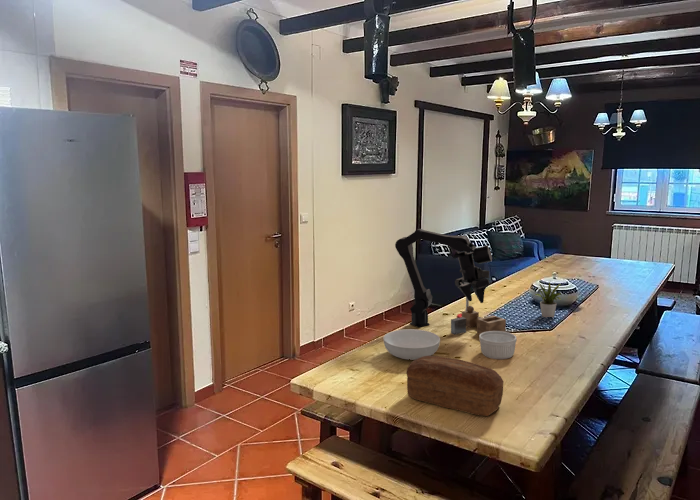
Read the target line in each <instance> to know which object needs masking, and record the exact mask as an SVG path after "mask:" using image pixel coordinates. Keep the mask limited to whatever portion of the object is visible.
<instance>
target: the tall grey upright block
mask: <svg viewBox="0 0 700 500" xmlns="http://www.w3.org/2000/svg"><path fill="white" fill-rule="evenodd" d="M450 333H451V335H453V336H456V335H460V334H464V333H467V327H466V318H464V317H460V318H458V317H456V318H452V319H450Z"/></svg>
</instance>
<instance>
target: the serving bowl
mask: <svg viewBox="0 0 700 500" xmlns="http://www.w3.org/2000/svg"><path fill="white" fill-rule="evenodd" d="M382 340H383V344H384V347H385V349H386V350H387V352H388V353H389V354H390V355H392V356H394V357H396V358H398V359H403V360H409V359H410V360H413V361H414V360H416V359H418V358H420V357H423V356H434V354H435V353H436V352H437V351H438V350H439V347H440V343H441V337H440V336H439V335H438V334H436V333H434V332H432V331H428V330H425V329H423V330H422V329H416V328H415V329H413V328H407V329H406V328H405V329H397V330H393V331H390V332H388V333H385V334H384V335H383V337H382ZM410 360H409V361H410Z"/></svg>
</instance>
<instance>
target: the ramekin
mask: <svg viewBox="0 0 700 500" xmlns="http://www.w3.org/2000/svg"><path fill="white" fill-rule="evenodd" d="M478 336H479V337H478V339H479V344H480V345H479V346H480V350H481V354H483V356H485V358H489V359H494V360H506V359H510V358H512V357H513V356H514V355H515V350H516V343H517V341H518V340H517V336H516V335H515V334H514V333H511V332H509V331H508V332H507V331H506V332H503V331H488V332H483V333H481V334H479V335H478Z"/></svg>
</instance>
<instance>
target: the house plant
mask: <svg viewBox="0 0 700 500" xmlns="http://www.w3.org/2000/svg"><path fill="white" fill-rule="evenodd" d="M531 284H532V285H535V286H537V284H535V283H531ZM547 285H548V287H547V291H546V288H545V285H544V284H542V282H540V281H539V288H538V290H539V292H540V293H541V294H540V293H535V294H534V296H538V297H540V298H541V299H542V301H540V302H539V304H540V305H539V306H540V312H541V316H542V317H543V318H547V317H552V318H554V317H555V313H556V308H557V302H556V301H557V300H560V301H561V297H558V296H561V295H562V293H558V292H557V291H558V289H559V288H560V289H561V288H563V287H559V286H561V285H562V283H561V284H558V285H556V286H555V287H554V288H553V289H552V285H551V281H549V282H548V284H547ZM556 292H557V293H556Z"/></svg>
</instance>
